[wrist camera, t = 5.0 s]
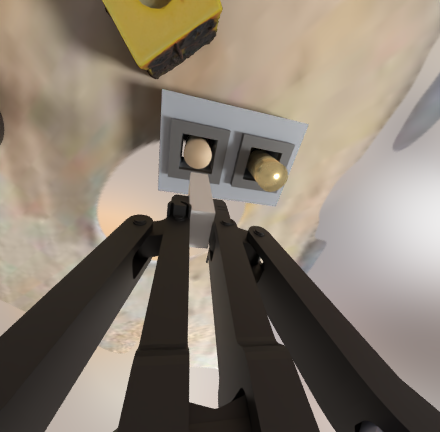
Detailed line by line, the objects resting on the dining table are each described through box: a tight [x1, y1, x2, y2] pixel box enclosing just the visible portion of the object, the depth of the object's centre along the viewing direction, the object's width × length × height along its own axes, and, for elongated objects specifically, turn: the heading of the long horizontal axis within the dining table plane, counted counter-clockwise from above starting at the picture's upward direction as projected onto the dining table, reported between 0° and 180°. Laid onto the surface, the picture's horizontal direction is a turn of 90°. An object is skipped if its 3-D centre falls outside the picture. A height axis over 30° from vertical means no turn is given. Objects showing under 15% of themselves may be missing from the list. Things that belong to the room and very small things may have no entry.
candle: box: [102, 0, 223, 79], centre depth 20 cm, size 10×10×10 cm
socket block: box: [158, 89, 309, 206], centre depth 31 cm, size 21×14×7 cm, turn 78°
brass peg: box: [246, 150, 288, 192], centre depth 28 cm, size 4×4×7 cm
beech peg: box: [184, 135, 212, 169], centre depth 30 cm, size 4×4×7 cm
